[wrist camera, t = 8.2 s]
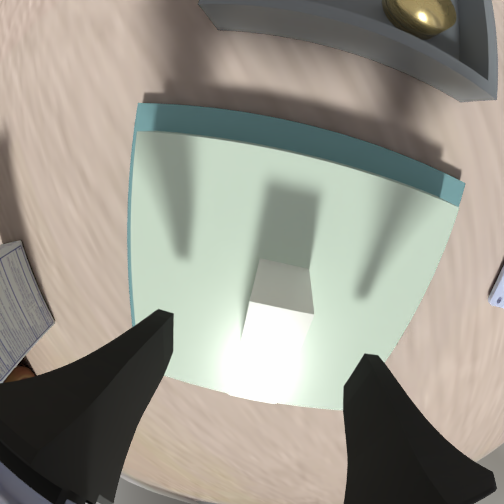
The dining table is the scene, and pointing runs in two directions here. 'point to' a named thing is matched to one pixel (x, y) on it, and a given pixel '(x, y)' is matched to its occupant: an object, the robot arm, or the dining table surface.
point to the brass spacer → (420, 16)
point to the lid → (276, 263)
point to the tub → (380, 38)
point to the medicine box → (19, 308)
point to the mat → (287, 148)
